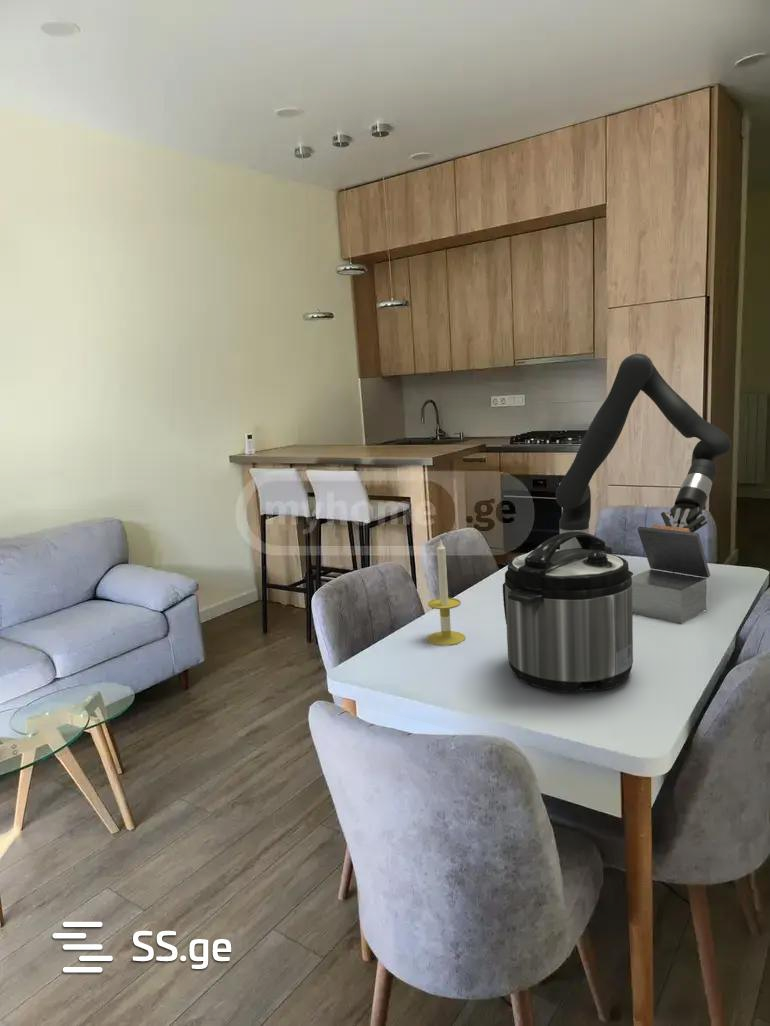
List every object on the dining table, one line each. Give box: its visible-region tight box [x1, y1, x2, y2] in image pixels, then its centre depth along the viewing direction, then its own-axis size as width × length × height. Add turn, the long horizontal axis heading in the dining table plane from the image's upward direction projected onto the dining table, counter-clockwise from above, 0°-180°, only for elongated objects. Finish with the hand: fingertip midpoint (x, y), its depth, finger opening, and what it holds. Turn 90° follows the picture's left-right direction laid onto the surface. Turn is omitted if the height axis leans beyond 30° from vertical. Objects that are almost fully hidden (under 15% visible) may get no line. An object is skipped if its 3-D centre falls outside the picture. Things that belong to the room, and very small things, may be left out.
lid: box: [637, 524, 711, 579], centre depth 185 cm, size 17×15×3 cm
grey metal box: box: [632, 568, 708, 625], centre depth 184 cm, size 16×14×9 cm
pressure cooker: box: [502, 532, 634, 693], centre depth 148 cm, size 30×28×32 cm
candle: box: [426, 538, 466, 646], centre depth 174 cm, size 10×10×27 cm
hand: (673, 544), depth 184 cm, fingers closed
